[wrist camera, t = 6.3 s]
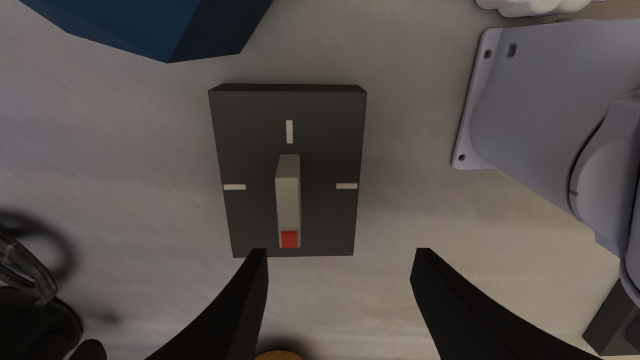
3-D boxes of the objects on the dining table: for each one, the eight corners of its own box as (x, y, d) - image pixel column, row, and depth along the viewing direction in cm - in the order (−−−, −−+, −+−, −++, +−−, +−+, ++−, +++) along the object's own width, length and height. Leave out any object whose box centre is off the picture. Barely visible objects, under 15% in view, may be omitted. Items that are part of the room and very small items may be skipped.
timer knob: (280, 153, 17) (274, 180, 14) (299, 153, 18) (298, 179, 14) (283, 215, 19) (279, 250, 16) (301, 214, 19) (300, 250, 16)
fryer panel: (221, 83, 18) (206, 90, 16) (358, 84, 19) (367, 92, 16) (241, 233, 24) (232, 259, 21) (347, 232, 24) (353, 257, 21)
